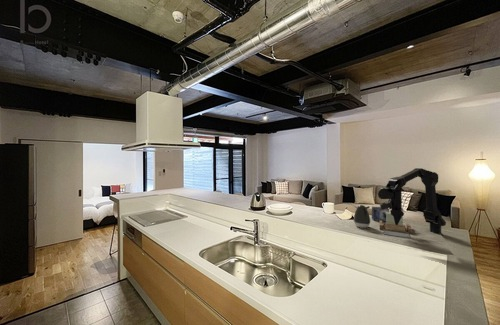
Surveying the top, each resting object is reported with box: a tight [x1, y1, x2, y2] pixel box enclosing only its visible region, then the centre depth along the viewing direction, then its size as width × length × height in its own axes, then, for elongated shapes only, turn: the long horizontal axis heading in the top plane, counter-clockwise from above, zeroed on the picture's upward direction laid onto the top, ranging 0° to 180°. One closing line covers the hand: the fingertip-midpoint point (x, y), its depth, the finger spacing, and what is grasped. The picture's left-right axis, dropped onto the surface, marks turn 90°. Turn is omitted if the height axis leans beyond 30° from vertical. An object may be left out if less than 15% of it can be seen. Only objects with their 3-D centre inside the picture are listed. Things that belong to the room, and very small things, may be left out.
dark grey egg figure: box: [353, 204, 371, 229], centre depth 145 cm, size 10×10×15 cm
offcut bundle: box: [384, 222, 406, 232], centre depth 136 cm, size 2×11×4 cm, turn 58°
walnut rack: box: [378, 220, 413, 235], centre depth 140 cm, size 15×17×3 cm
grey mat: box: [383, 231, 411, 239], centre depth 129 cm, size 7×13×1 cm, turn 58°
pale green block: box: [385, 212, 404, 225], centre depth 142 cm, size 3×9×10 cm, turn 59°
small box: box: [371, 206, 390, 223], centre depth 159 cm, size 11×6×10 cm, turn 72°
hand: (396, 223), depth 129 cm, fingers open, 4 cm apart
